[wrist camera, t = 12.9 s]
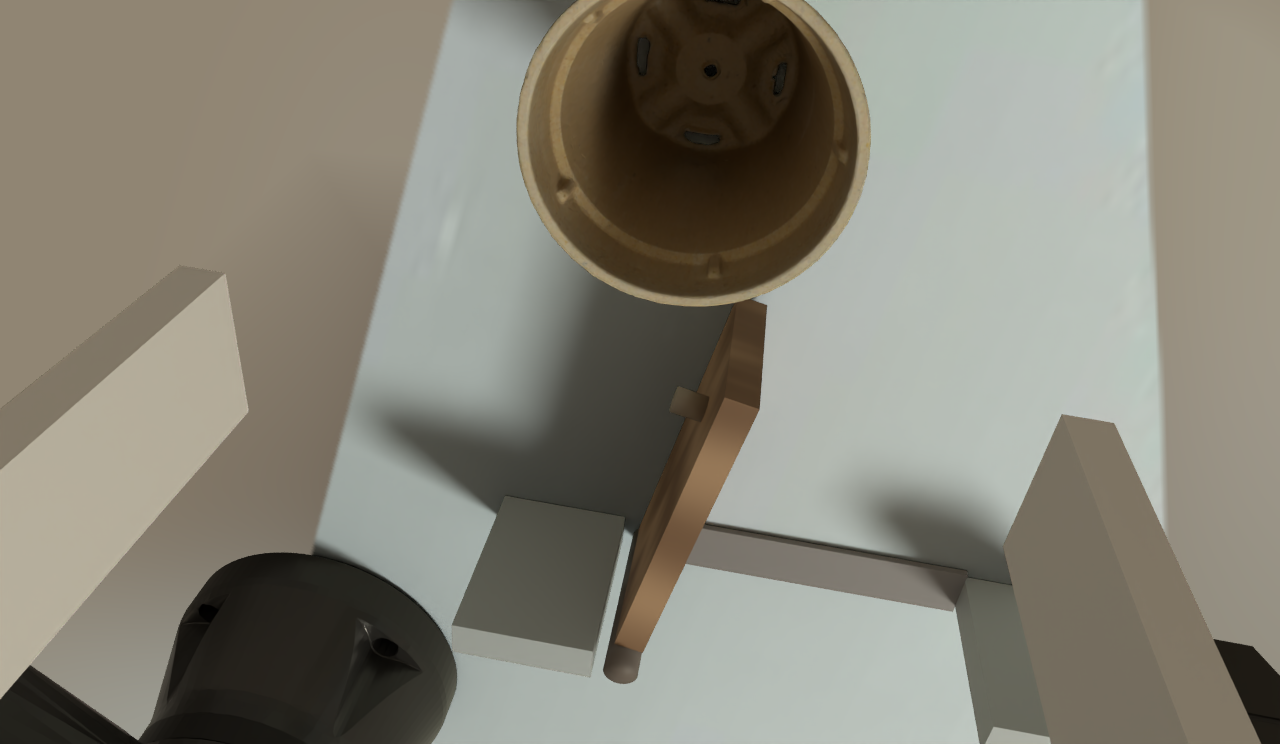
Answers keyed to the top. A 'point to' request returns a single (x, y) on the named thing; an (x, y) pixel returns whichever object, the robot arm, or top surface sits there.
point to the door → (689, 483)
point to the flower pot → (693, 144)
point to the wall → (591, 541)
